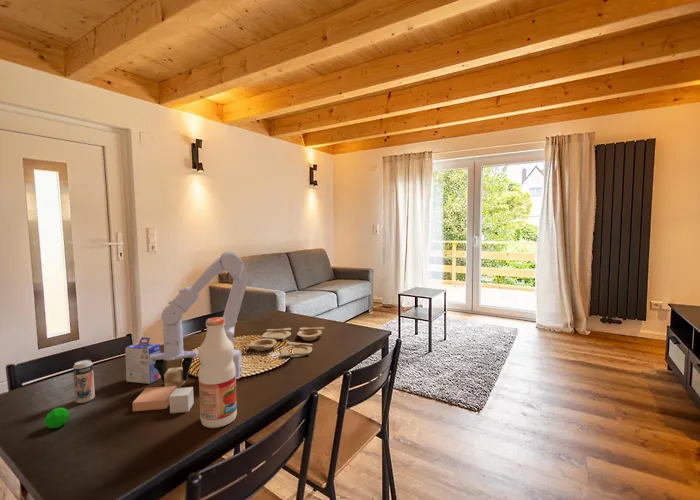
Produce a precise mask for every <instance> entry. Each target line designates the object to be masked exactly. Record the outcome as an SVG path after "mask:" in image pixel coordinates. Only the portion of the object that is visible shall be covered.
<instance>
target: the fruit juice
mask: <svg viewBox="0 0 700 500" xmlns="http://www.w3.org/2000/svg"><path fill="white" fill-rule="evenodd" d="M224 325H225V318H223V316H220V317H219V316H216V317H211V318H207V319H206V320H205V327H206V335H205V337H204V341H203V342H202V344H201V345H200V346H199V347H198V359H199V362H200V366H199V368H198V388H199V389H198V391H199V392H198V393H199V417H200V422H201V425H202V426H203V427H205V428H210V429H216V428H221V427H224V426H227V425H229V424H230V423H232V422H233V421H235V419H236V417H237V414H238V406H237V405H238V404H237V403H238V401H237V379H236V370H235V364H234V362H233V355H234V349H235V345H233V343H232V342H231V341H230V340H229V339H228V337H227V335H226V333H225V330H224Z"/></svg>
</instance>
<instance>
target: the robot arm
mask: <svg viewBox="0 0 700 500" xmlns="http://www.w3.org/2000/svg"><path fill="white" fill-rule="evenodd" d="M225 271H226V272H227V273H229V274H230V276H231V277H232V279H233V281H232V285H231V288H230V291H229V295H228V299H227V301H226V305H225V308H224V312H223V315H222V317H223V318H225V325H224V330H225V333H226V335H227V337H228V339H229V340H230V341H231V342H232V343H233V345H234V344H235V341H234V336H235V328H236V324H237V321H238V316H239V313H240V310H241V306H242V302H243V299H244V295H245V292H246V288H247V285H248V282H249V275H248V272H247V269H246V266H245V262H244V260H242V258H241V257H240V256H239V255H238V253H237V254H236V253H235V252H233V251H232V250H231V251H229V250H228V251H225V252H223V253H222V254H221V255H220V257H217V258H216V259H215V260H214V261H213V262H212V263H211V264H209V266H207V268H206V269H205V270H204V272H202V274H201V275H200V276H199V277H198V278H197V279H196V281H194V283H193V284H192V285H190V286H185V287H184V288H181V289H179V291H178V294H177V295H176V296H175V298H173V299H172V300H169V302H168V305H167V306H165V307H164V309H163V310H162V313H161V320H162V327H163V329H162V336H163V337H162V338H163V340H162V341H163V350H164V351H163V352H160V353H159V354H152V355H151V356H150V357H149V358H150V362H154V361H155V364H154V367H155V368H156V369H157V370H158V372H159V374H160V376H161V378H160V379H161V381H162V383H164V374H165V373H166V372H167V370H168V369H167V368H168V361H174V360H175V361H176V360H182V361H181V367H182V368H183V381H185V382H186V381H187V380H188V377H189V371H190V368H191V365H192V362H193V361H194V360H197V359H198V358H199V356H198V352H199V350H197V351H196V350H195V351H192V350H191V351H190V350H184V337H183V333H184V332H183V325H182V318H183V314H184V313H187V312H188V311H189V310H190V308H191V307H192V306H193V305H194V304H195V303H196V302H197V301H199V299H200V292H201V291H202V290H203V289H204V288H205V287H206V286H207V285H208V284H209V283H210V282H211V281H212V280H213V279H214V277H216V276H218V275H221V274H225ZM234 346H235V345H234ZM233 362H234V364H235V370H236V380H239V379H240V376H241V373H242V371H243V369H242V368H243V366H242V363H243V362H242V350H239V349H235V348H234V355H233ZM164 384H165V383H164Z"/></svg>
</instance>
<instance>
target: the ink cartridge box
mask: <svg viewBox="0 0 700 500" xmlns="http://www.w3.org/2000/svg"><path fill="white" fill-rule="evenodd" d="M144 340H145V341H144ZM150 341H151V337H143V336H142V337H141V338H140V340H139V342H135V343H133V344H130V345H128V346H126V347H125V377H126V378H125V381H126V382H127V383H129V382H130V383H140V384H147V385H148V384H153V383H154V382H156V381H158V380H160V379H162V378H161V376H160V374H159V372H158V370H157V369H156V368H155V367H154V364H155V361H154V362H150V358H149V357H150V356H151V355H152V354H159V353H161V344H160V343H150Z"/></svg>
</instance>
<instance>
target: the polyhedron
mask: <svg viewBox="0 0 700 500" xmlns="http://www.w3.org/2000/svg"><path fill="white" fill-rule="evenodd" d="M69 419H70V413H69V411H68V409H66V408H65V407H55V408H54V409H53V410H51V411H49V412H48V413H46V416H45V418H44V423H45V426H46V428H49V429H51V430H52V429H59V428H61V427H62V426H63V425H65V424H66V423H68V421H69Z"/></svg>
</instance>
